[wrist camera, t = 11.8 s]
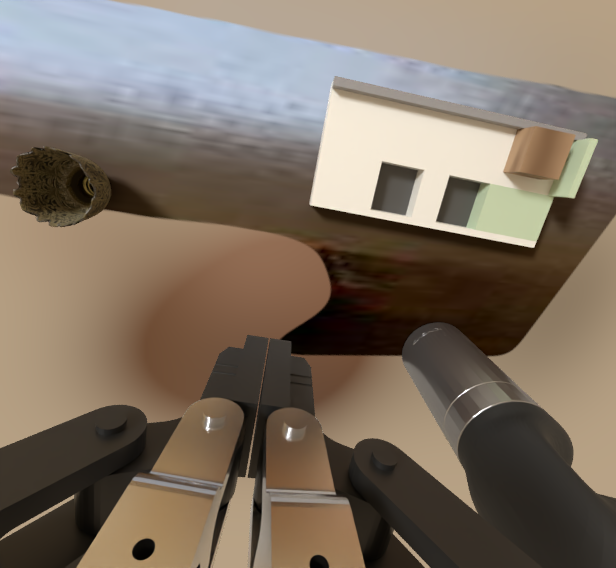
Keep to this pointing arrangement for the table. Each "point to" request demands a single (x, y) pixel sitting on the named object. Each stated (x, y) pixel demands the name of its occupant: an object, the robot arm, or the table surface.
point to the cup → (60, 186)
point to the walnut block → (539, 153)
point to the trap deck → (434, 165)
